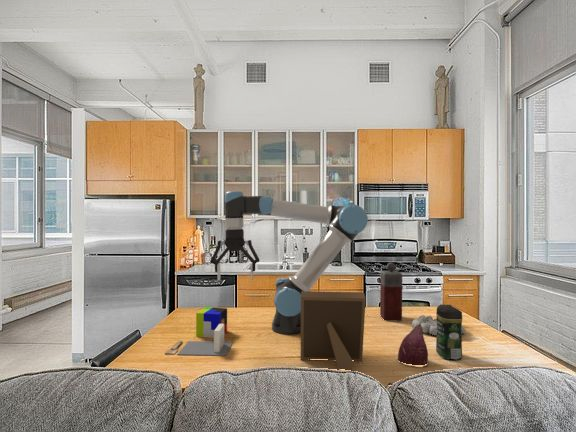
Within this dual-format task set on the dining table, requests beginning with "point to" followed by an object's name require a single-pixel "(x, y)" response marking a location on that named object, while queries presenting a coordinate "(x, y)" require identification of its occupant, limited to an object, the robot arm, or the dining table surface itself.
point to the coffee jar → (449, 332)
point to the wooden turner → (174, 348)
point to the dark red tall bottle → (391, 294)
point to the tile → (218, 338)
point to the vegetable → (414, 348)
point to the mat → (204, 348)
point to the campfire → (429, 324)
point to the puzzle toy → (210, 321)
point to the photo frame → (332, 326)
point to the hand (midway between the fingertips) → (235, 279)
